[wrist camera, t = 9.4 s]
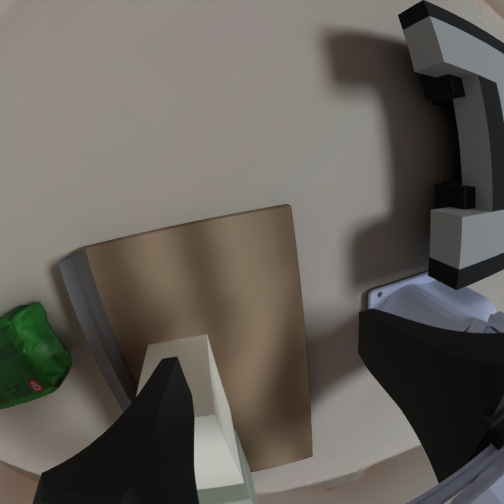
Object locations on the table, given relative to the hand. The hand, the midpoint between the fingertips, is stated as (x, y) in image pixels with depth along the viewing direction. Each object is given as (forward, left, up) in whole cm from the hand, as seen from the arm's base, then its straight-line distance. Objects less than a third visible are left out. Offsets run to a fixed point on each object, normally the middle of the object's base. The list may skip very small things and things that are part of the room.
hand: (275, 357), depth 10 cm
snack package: (+22, +4, -11) cm, 25 cm away
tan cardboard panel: (+4, +10, -10) cm, 15 cm away
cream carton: (+5, +8, -9) cm, 13 cm away
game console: (-30, -7, -11) cm, 33 cm away
